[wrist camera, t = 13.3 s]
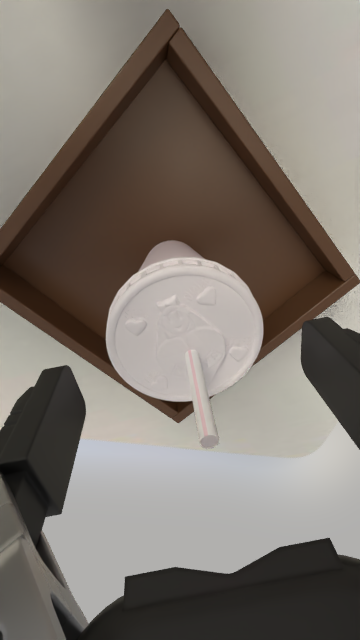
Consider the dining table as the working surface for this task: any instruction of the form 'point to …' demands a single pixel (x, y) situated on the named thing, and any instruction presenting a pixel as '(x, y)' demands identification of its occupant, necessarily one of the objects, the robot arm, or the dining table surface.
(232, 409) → the dining table surface
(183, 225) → the tray
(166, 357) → the smoothie
